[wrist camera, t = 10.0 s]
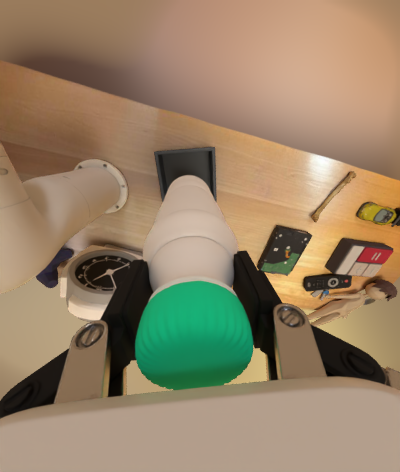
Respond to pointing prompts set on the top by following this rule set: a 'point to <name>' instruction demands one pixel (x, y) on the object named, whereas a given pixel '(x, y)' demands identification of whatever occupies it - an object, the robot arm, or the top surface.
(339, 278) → the remote control
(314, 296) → the key chain
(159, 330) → the water bottle
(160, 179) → the bin
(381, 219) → the toy car
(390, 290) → the toy
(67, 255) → the tetrapod
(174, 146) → the top surface
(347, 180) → the bone model
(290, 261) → the disk drive
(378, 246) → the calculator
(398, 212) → the multiport hub
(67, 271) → the alarm clock
